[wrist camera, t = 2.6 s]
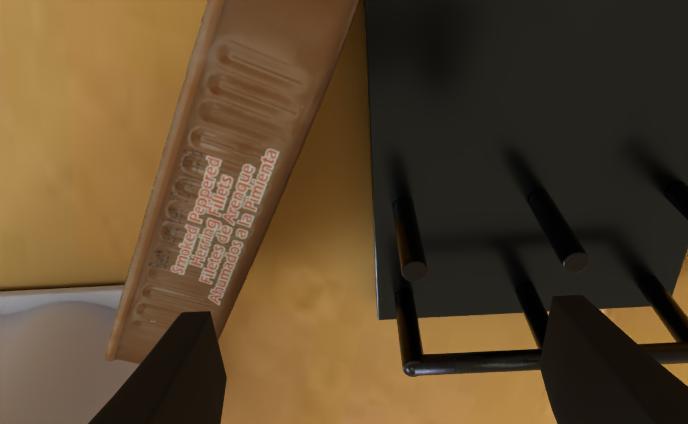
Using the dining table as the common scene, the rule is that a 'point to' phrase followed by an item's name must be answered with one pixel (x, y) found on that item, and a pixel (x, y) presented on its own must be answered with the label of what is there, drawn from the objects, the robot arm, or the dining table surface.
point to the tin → (226, 160)
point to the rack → (526, 164)
